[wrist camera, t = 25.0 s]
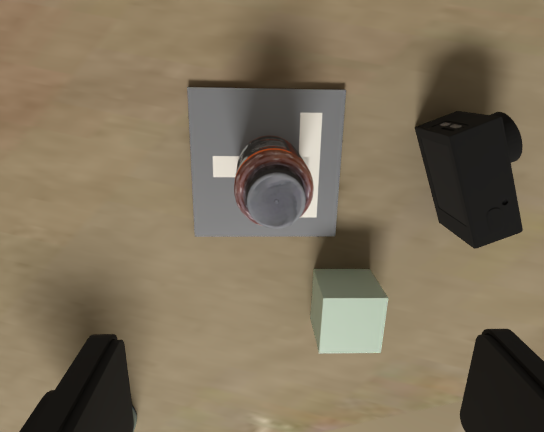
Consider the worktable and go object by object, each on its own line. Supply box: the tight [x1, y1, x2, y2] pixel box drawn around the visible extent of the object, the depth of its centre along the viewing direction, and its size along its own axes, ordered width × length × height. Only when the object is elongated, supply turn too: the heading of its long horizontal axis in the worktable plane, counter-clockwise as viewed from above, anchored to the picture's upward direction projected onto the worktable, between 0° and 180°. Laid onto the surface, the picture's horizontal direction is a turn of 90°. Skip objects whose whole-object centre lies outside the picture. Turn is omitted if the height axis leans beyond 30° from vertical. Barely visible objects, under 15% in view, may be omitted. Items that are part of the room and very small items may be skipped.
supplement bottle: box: [234, 136, 314, 229], centre depth 31 cm, size 6×6×11 cm
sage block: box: [310, 269, 388, 353], centre depth 39 cm, size 6×6×6 cm
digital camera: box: [415, 111, 523, 249], centre depth 35 cm, size 10×5×7 cm, turn 21°
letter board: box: [187, 87, 346, 236], centre depth 37 cm, size 14×14×1 cm
